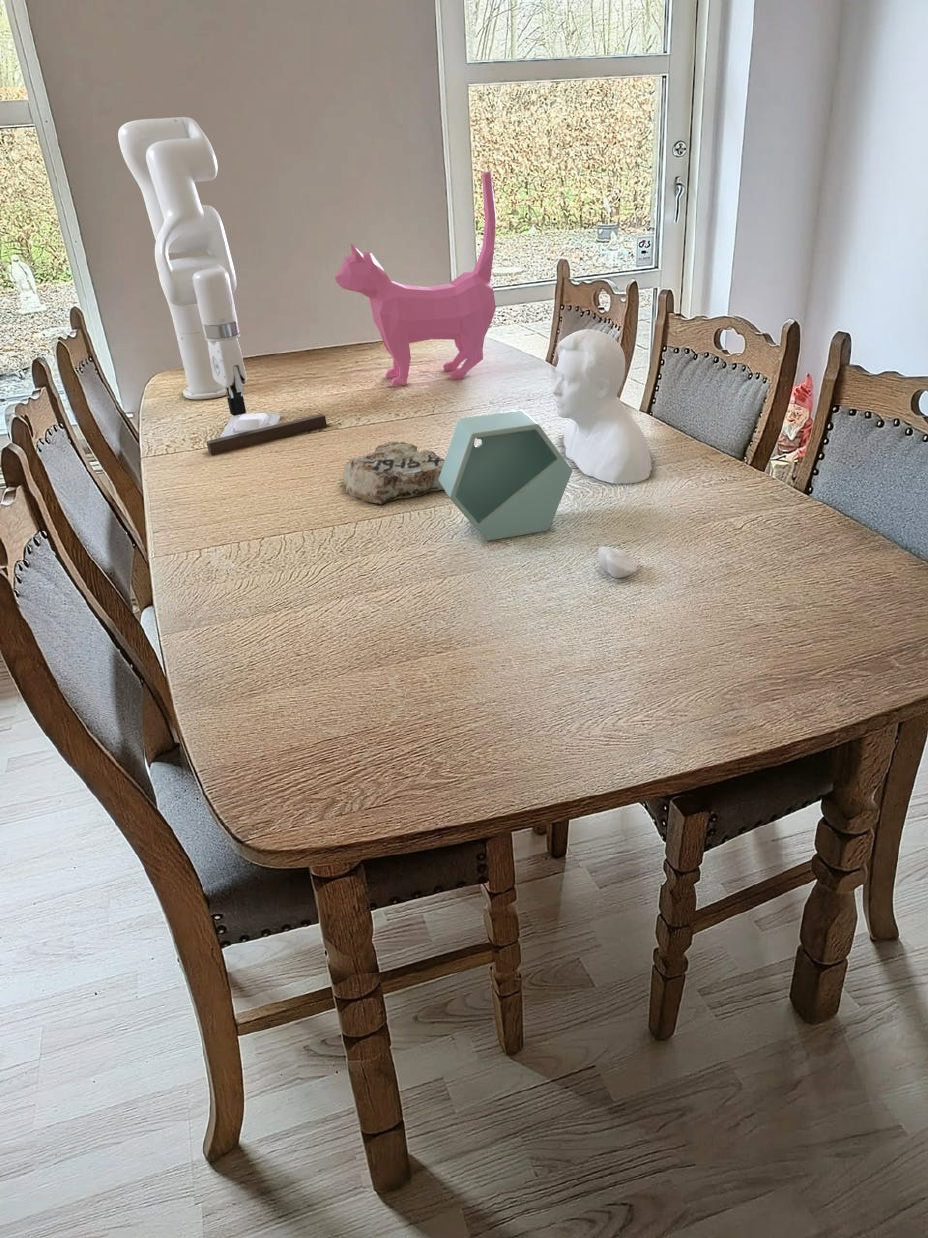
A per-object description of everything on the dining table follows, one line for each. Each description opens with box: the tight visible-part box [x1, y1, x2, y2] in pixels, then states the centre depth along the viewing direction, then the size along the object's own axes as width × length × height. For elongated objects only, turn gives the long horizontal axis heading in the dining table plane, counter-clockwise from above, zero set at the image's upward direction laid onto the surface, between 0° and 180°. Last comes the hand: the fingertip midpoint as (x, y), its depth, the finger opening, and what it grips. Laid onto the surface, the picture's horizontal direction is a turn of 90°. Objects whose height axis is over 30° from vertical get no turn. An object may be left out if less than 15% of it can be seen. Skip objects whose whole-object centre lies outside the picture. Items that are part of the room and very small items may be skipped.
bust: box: [551, 328, 653, 485], centre depth 155 cm, size 28×19×24 cm
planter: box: [438, 409, 573, 542], centre depth 133 cm, size 17×8×21 cm
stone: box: [343, 441, 445, 505], centre depth 157 cm, size 19×6×25 cm
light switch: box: [219, 412, 281, 438], centre depth 189 cm, size 11×4×13 cm
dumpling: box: [597, 545, 638, 579], centre depth 121 cm, size 7×5×4 cm
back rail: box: [205, 413, 328, 456], centre depth 182 cm, size 2×26×2 cm, turn 123°
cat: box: [334, 170, 497, 387], centre depth 205 cm, size 13×39×45 cm, turn 104°
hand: (238, 413), depth 195 cm, fingers closed
